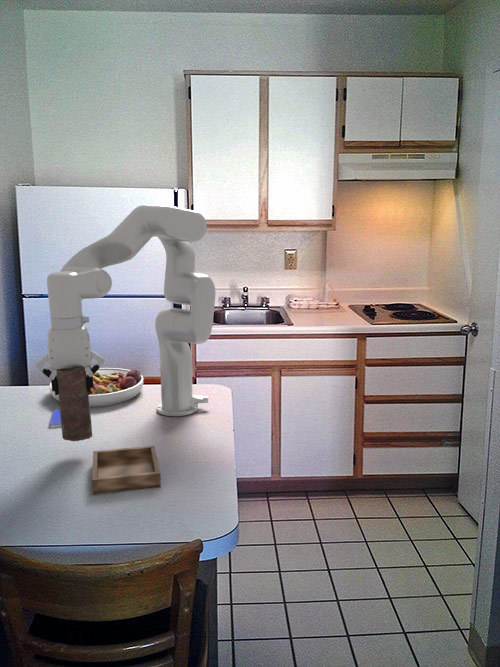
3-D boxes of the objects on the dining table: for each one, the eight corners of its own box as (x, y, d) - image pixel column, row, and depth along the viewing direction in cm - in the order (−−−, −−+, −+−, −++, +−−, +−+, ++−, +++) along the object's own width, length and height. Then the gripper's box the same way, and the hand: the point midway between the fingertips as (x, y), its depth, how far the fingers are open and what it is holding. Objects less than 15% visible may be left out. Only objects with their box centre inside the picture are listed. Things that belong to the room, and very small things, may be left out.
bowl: (49, 415, 189) (47, 390, 187) (51, 385, 217) (49, 363, 215) (149, 405, 197) (148, 381, 195) (138, 378, 225) (137, 357, 223)
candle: (84, 446, 154) (77, 369, 149) (57, 444, 156) (49, 368, 151) (97, 434, 162) (91, 360, 157) (71, 432, 163) (64, 359, 158)
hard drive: (79, 422, 179) (81, 407, 191) (49, 424, 178) (53, 409, 190) (79, 427, 180) (81, 412, 192) (49, 429, 178) (53, 414, 190)
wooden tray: (155, 458, 158) (154, 445, 157) (160, 487, 142) (160, 473, 142) (94, 464, 154) (93, 451, 154) (93, 494, 139) (92, 480, 138)
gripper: (103, 317, 157) (108, 384, 161) (31, 321, 153) (38, 390, 157) (103, 324, 150) (109, 393, 154) (27, 328, 146) (35, 400, 150)
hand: (73, 391), depth 156 cm, fingers closed on candle, 7 cm apart
